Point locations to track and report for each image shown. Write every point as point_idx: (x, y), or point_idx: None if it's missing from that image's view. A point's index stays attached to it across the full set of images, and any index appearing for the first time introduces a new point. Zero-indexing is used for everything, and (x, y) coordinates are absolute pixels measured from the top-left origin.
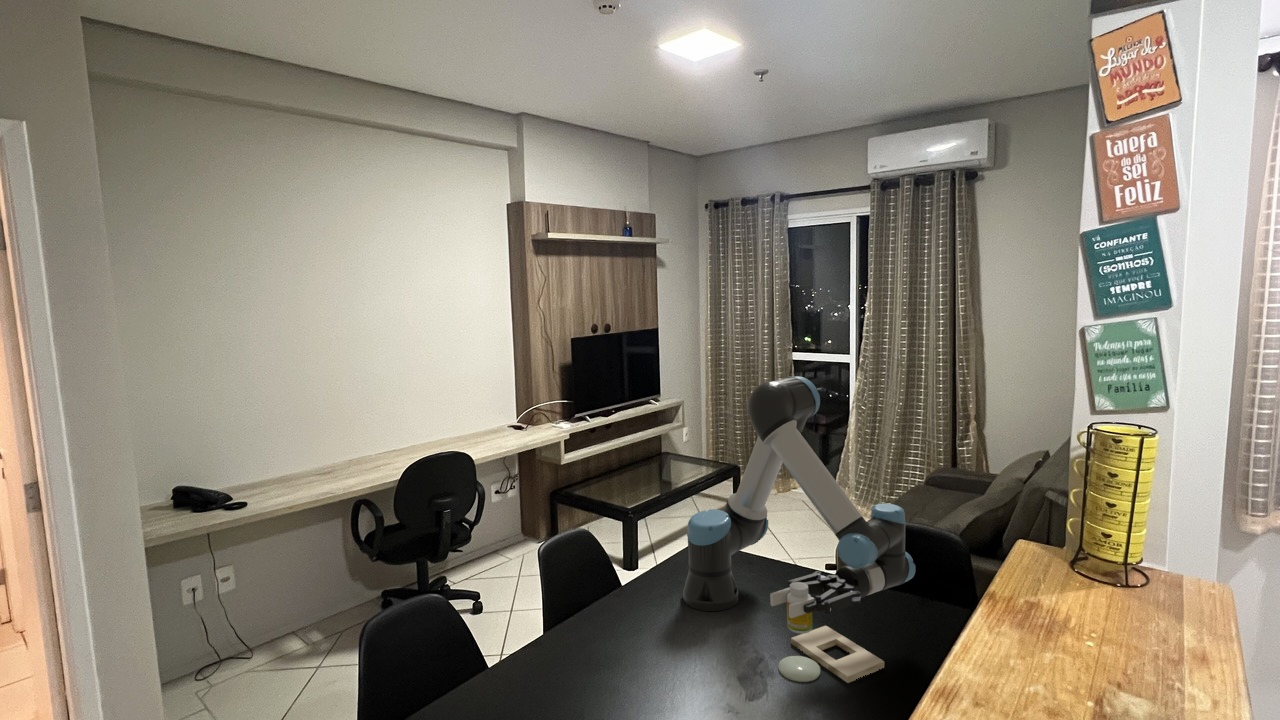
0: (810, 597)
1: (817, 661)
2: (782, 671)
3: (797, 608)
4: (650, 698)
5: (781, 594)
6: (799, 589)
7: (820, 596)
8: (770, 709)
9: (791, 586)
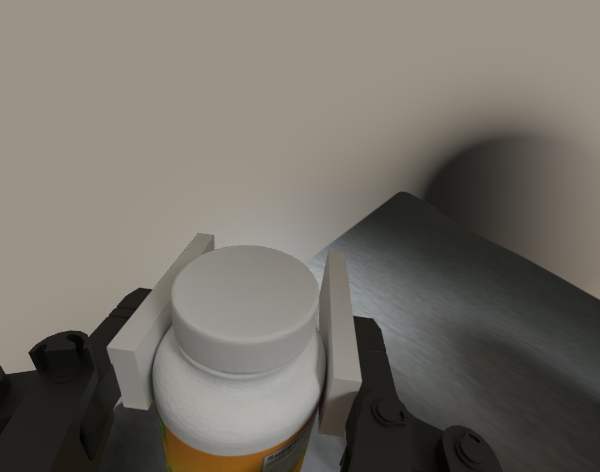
0: (162, 378)
1: None
2: None
3: None
4: None
5: (327, 295)
6: (210, 252)
7: (59, 428)
8: None
9: (277, 254)
